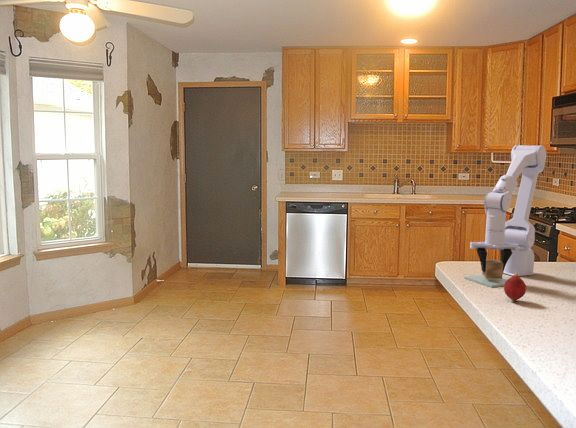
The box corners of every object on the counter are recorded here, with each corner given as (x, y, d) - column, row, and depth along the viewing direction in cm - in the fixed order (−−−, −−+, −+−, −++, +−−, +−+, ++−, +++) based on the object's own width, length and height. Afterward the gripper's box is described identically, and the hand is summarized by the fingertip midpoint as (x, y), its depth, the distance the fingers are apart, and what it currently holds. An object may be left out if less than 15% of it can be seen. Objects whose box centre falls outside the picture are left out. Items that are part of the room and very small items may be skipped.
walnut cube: (485, 277, 172) (486, 262, 171) (482, 274, 177) (483, 259, 176) (502, 278, 171) (503, 263, 171) (498, 274, 176) (499, 259, 176)
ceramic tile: (492, 275, 182) (492, 273, 182) (520, 284, 171) (520, 282, 171) (464, 278, 177) (464, 276, 177) (491, 287, 166) (491, 285, 166)
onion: (527, 304, 149) (529, 276, 148) (505, 303, 150) (507, 275, 149) (522, 298, 155) (524, 271, 154) (501, 297, 156) (503, 270, 155)
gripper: (474, 231, 169) (471, 273, 171) (522, 232, 167) (519, 275, 169) (469, 227, 176) (467, 268, 178) (516, 229, 174) (512, 270, 176)
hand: (492, 271), depth 174 cm, fingers closed on walnut cube, 5 cm apart
